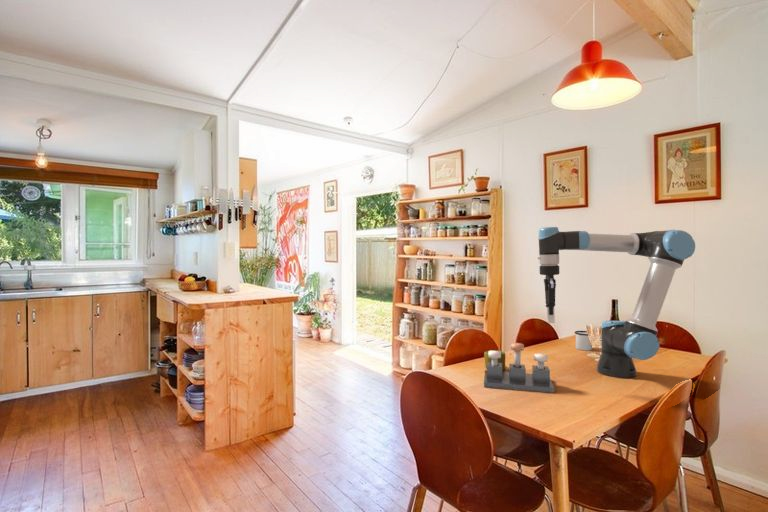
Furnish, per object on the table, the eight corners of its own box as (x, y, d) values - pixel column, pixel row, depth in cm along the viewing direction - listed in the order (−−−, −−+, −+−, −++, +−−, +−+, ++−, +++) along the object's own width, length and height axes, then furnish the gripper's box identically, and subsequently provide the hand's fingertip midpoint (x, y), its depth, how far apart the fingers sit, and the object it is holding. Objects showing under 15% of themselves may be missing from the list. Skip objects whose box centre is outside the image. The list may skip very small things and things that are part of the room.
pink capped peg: (523, 367, 167) (523, 343, 167) (524, 371, 162) (524, 346, 162) (510, 366, 168) (510, 342, 168) (511, 370, 163) (511, 345, 163)
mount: (548, 379, 170) (548, 363, 169) (554, 393, 154) (554, 374, 154) (484, 374, 176) (485, 358, 176) (484, 387, 161) (484, 369, 161)
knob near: (546, 378, 165) (546, 354, 164) (548, 382, 160) (548, 357, 160) (533, 377, 166) (533, 353, 166) (534, 381, 161) (534, 356, 161)
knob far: (500, 374, 169) (500, 351, 169) (500, 378, 165) (500, 354, 164) (488, 373, 171) (488, 350, 170) (488, 377, 166) (488, 353, 166)
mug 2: (588, 352, 214) (588, 335, 214) (570, 348, 222) (571, 332, 222) (599, 348, 221) (599, 332, 221) (582, 345, 229) (582, 329, 229)
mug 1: (510, 369, 177) (503, 347, 180) (487, 375, 179) (480, 353, 182) (509, 367, 189) (502, 346, 191) (488, 372, 191) (481, 351, 193)
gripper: (537, 264, 172) (538, 319, 173) (541, 266, 160) (543, 325, 160) (556, 263, 171) (557, 319, 171) (562, 265, 158) (563, 325, 159)
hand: (550, 322), depth 166 cm, fingers closed
